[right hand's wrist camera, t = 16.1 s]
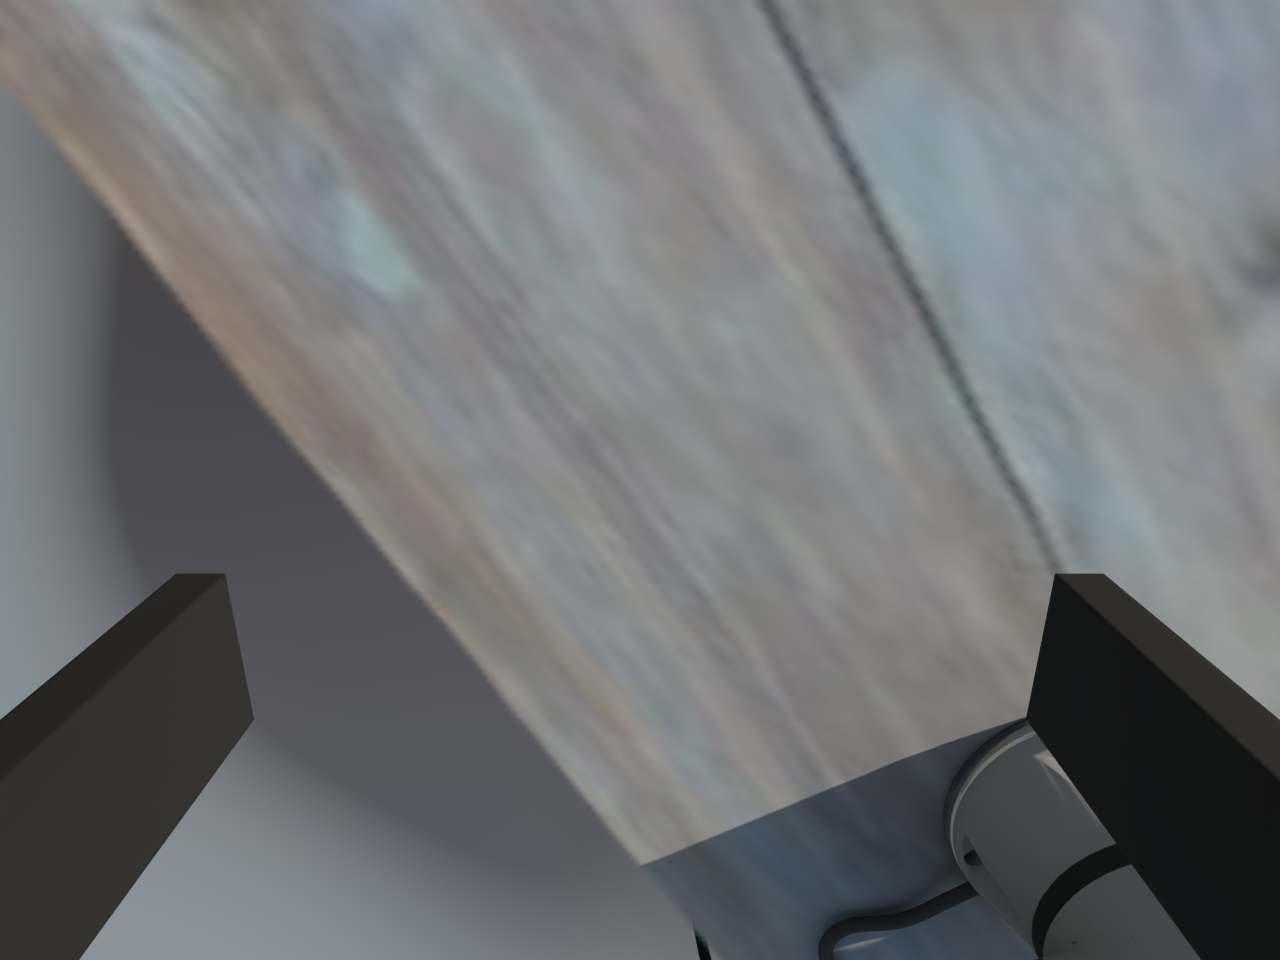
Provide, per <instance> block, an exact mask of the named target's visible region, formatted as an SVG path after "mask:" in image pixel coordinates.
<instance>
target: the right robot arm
mask: <svg viewBox="0 0 1280 960" xmlns="http://www.w3.org/2000/svg"><path fill="white" fill-rule="evenodd" d="M253 720H254V717H253V712H252V707H251V702H250V697H249V692H248V687H247V682H246V677H245V672H244V667H243V662H242V657H241V652H240V647H239V642H238V637H237V632H236V627H235V622H234V617H233V612H232V607H231V602H230V597H229V592H228V587H227V582H226V577H225V574H176V575H174V576H173V577H172V578H171V579H170V580H168V581H167V582H166V583H165V584H163V585H162V586H161V587H160V588H159V589H157V590H156V591H155V592H154V593H153V594H151V595H150V596H149V597H148V598H147V599H145V600H144V601H143V602H142V603H141V604H139V605H138V606H137V607H136V608H135V609H133V610H132V611H131V612H130V613H129V614H127V615H126V616H125V617H124V618H123V619H121V620H120V621H119V622H118V623H116V624H115V625H114V626H113V627H112V628H110V629H109V630H108V631H107V632H106V633H104V634H103V635H102V636H101V637H100V638H98V639H97V640H96V641H95V642H94V643H92V644H91V645H90V646H89V647H87V648H86V649H85V650H84V651H83V652H81V653H80V654H79V655H78V656H77V657H75V658H74V659H73V660H72V661H71V662H69V663H68V664H67V665H66V666H65V667H63V668H62V669H61V670H60V671H59V672H57V673H56V674H55V675H54V676H53V677H51V678H50V679H49V680H48V681H47V682H45V683H44V684H43V685H42V686H41V687H39V688H38V689H37V690H36V691H35V692H33V693H32V694H31V695H30V696H28V697H27V698H26V699H25V700H24V701H22V702H21V703H20V704H19V705H18V706H16V707H15V708H14V709H13V710H12V711H10V712H9V713H8V714H7V715H6V716H4V717H3V718H2V719H1V720H0V960H79V959H80V958H81V956H82V955H83V954H84V952H85V951H86V949H87V948H88V947H89V945H90V944H91V943H92V941H93V940H94V939H95V937H96V936H97V934H98V933H99V932H100V930H101V929H102V928H103V926H104V925H105V923H106V922H107V921H108V919H109V918H110V916H111V915H112V914H113V912H114V911H115V910H116V908H117V907H118V906H119V904H120V903H121V901H122V900H123V899H124V897H125V896H126V895H127V893H128V892H129V890H130V889H131V888H132V886H133V885H134V884H135V882H136V881H137V879H138V878H139V877H140V875H141V874H142V873H143V871H144V870H145V868H146V867H147V866H148V864H149V863H150V862H151V860H152V859H153V857H154V856H155V855H156V853H157V852H158V851H159V849H160V848H161V846H162V845H163V844H164V842H165V841H166V840H167V838H168V837H169V835H170V834H171V833H172V831H173V830H174V829H175V827H176V826H177V825H178V823H179V822H180V820H181V819H182V818H183V816H184V815H185V814H186V812H187V811H188V809H189V808H190V807H191V805H192V804H193V803H194V801H195V800H196V798H197V797H198V796H199V794H200V793H201V792H202V790H203V789H204V787H205V786H206V785H207V783H208V782H209V781H210V779H211V778H212V776H213V775H214V774H215V772H216V771H217V769H218V768H219V767H220V765H221V764H222V763H223V761H224V760H225V758H226V757H227V756H228V754H229V753H230V752H231V750H232V749H233V748H234V746H235V745H236V743H237V742H238V741H239V739H240V738H241V737H242V735H243V734H244V732H245V731H246V730H247V728H248V727H249V725H250V724H251V723H252V721H253ZM1026 720H1027V721H1025V722H1022V723H1020V724H1018V725H1015V726H1013V727H1012V728H1010V729H1008V730H1006V731H1004V732H1002V733H1001V734H999V735H998V736H996V737H994V738H993V739H992V740H990V741H989V742H988V743H986V744H985V745H984V746H983V747H982V748H980V749H979V750H978V751H977V752H976V753H975V754H974V755H973V756H972V757H971V758H970V759H969V760H968V762H967V763H966V764H965V765H964V767H963V768H962V769H961V771H960V772H959V774H958V775H957V777H956V779H955V781H954V783H953V784H952V786H951V789H950V792H949V794H948V797H947V801H946V805H945V812H944V827H945V833H946V838H947V841H948V844H949V846H950V849H951V851H952V853H953V855H954V857H955V859H956V861H957V864H958V865H959V867H960V869H961V871H962V872H963V874H964V875H965V877H966V878H967V879H968V882H966V883H964V884H962V885H960V886H958V887H956V888H954V889H952V890H950V891H948V892H946V893H943V894H941V895H939V896H937V897H935V898H933V899H931V900H929V901H927V902H925V903H923V904H921V905H919V906H917V907H915V908H912V909H910V910H907V911H904V912H900V913H896V914H891V915H880V916H863V917H854V918H849V919H845V920H843V921H840V922H838V923H836V924H835V925H833V926H832V927H831V928H829V929H828V930H827V931H826V932H825V934H824V935H823V936H822V938H821V940H820V943H819V959H820V960H833V957H832V950H833V947H834V945H835V944H836V943H837V942H838V941H839V940H840V939H841V938H843V937H845V936H847V935H849V934H853V933H858V932H866V931H884V930H894V929H900V928H904V927H908V926H911V925H914V924H917V923H919V922H922V921H924V920H926V919H928V918H930V917H932V916H934V915H936V914H938V913H940V912H943V911H945V910H947V909H949V908H951V907H953V906H955V905H958V904H960V903H962V902H964V901H966V900H968V899H970V898H972V897H974V896H977V895H979V894H980V895H981V896H982V897H983V898H984V899H985V900H986V901H987V902H988V903H989V904H990V905H991V906H992V907H993V908H994V909H995V910H996V911H997V912H998V913H999V914H1000V915H1001V916H1002V917H1003V918H1004V919H1005V920H1006V921H1007V922H1008V923H1009V924H1010V925H1011V926H1012V927H1013V928H1014V929H1015V930H1016V931H1017V932H1018V933H1019V934H1020V935H1021V936H1022V937H1023V938H1024V940H1025V941H1026V942H1027V943H1028V944H1029V945H1030V946H1031V947H1032V948H1033V949H1034V951H1035V953H1036V954H1037V956H1038V958H1039V959H1037V960H1280V720H1279V719H1278V718H1277V717H1276V716H1274V715H1273V714H1272V713H1271V712H1270V711H1268V710H1267V709H1266V708H1265V707H1264V706H1262V705H1261V704H1260V703H1259V702H1258V701H1256V700H1255V699H1254V698H1253V697H1252V696H1250V695H1249V694H1248V693H1247V692H1246V691H1244V690H1243V689H1242V688H1241V687H1240V686H1238V685H1237V684H1236V683H1235V682H1233V681H1232V680H1231V679H1230V678H1229V677H1227V676H1226V675H1225V674H1224V673H1223V672H1221V671H1220V670H1219V669H1218V668H1217V667H1215V666H1214V665H1213V664H1212V663H1211V662H1209V661H1208V660H1207V659H1206V658H1205V657H1203V656H1202V655H1201V654H1200V653H1199V652H1197V651H1196V650H1195V649H1194V648H1192V647H1191V646H1190V645H1189V644H1188V643H1186V642H1185V641H1184V640H1183V639H1182V638H1180V637H1179V636H1178V635H1177V634H1176V633H1174V632H1173V631H1172V630H1171V629H1170V628H1168V627H1167V626H1166V625H1165V624H1164V623H1162V622H1161V621H1160V620H1159V619H1158V618H1156V617H1155V616H1154V615H1153V614H1152V613H1150V612H1149V611H1148V610H1147V609H1145V608H1144V607H1143V606H1142V605H1141V604H1139V603H1138V602H1137V601H1136V600H1135V599H1133V598H1132V597H1131V596H1130V595H1129V594H1127V593H1126V592H1125V591H1124V590H1123V589H1121V588H1120V587H1119V586H1118V585H1117V584H1115V583H1114V582H1113V581H1112V580H1111V579H1109V578H1108V577H1107V576H1106V575H1104V574H1055V577H1054V582H1053V587H1052V592H1051V597H1050V602H1049V607H1048V612H1047V617H1046V622H1045V627H1044V632H1043V637H1042V642H1041V647H1040V652H1039V657H1038V662H1037V667H1036V672H1035V677H1034V682H1033V687H1032V692H1031V697H1030V702H1029V707H1028V712H1027V717H1026ZM694 933H695V938H696V944H697V949H698V954H699V958H700V960H712V959H711V955H710V952H709V947H708V944H707V943H706V942H705V941H704V940H703V938H702V937H701V936H700V935H699V934H698V932H697V931H696V930H694Z"/></svg>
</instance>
